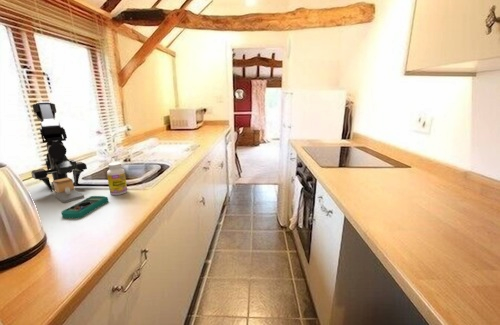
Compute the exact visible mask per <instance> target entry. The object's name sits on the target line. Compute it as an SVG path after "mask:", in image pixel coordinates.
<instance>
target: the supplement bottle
mask: <svg viewBox="0 0 500 325" xmlns="http://www.w3.org/2000/svg"><path fill="white" fill-rule="evenodd" d="M106 177H107V182H108V188H109V193H110V195H112V196H121V195H124V194H126V193H127V192H128V186H127V178H126V172H125V169H124V168H122V163H121V162H118V161H117V162H116V161H115V162H110V163H108V170H107V171H106Z"/></svg>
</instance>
